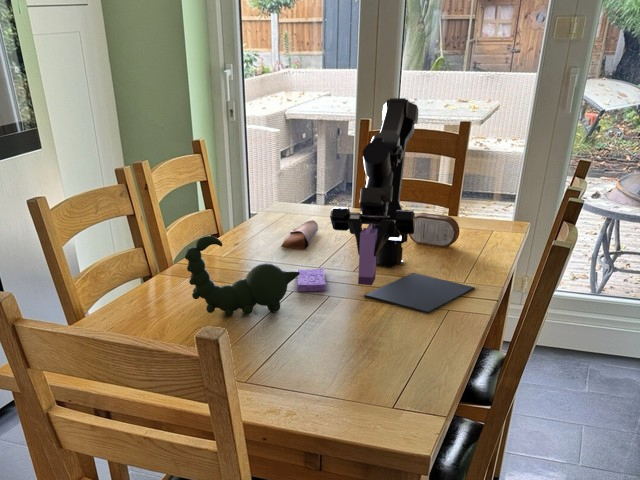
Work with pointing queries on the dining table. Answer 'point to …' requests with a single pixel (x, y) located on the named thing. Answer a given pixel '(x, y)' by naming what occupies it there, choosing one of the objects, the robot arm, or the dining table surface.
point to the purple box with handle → (367, 255)
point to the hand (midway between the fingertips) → (366, 254)
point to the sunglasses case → (301, 236)
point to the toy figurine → (237, 284)
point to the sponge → (311, 280)
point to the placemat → (420, 292)
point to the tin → (435, 230)
